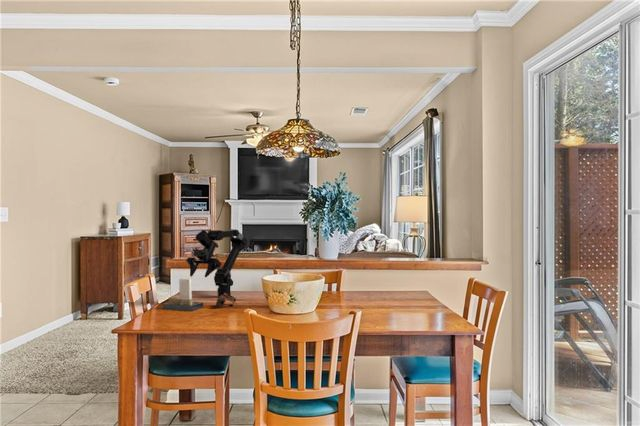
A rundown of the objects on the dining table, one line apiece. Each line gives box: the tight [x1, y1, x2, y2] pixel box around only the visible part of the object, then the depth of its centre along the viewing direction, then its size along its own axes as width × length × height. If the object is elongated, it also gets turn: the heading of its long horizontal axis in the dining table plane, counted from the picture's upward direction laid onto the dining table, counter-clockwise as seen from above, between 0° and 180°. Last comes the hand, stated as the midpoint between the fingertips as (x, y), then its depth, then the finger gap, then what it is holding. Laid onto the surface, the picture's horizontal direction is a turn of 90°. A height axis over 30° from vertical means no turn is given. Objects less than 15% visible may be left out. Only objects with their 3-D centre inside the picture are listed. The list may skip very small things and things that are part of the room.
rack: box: [162, 301, 205, 312], centre depth 230 cm, size 10×18×3 cm, turn 68°
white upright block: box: [178, 278, 193, 300], centre depth 232 cm, size 2×6×14 cm, turn 68°
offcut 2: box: [180, 298, 193, 305], centre depth 227 cm, size 2×6×5 cm, turn 68°
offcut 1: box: [168, 297, 181, 304], centre depth 229 cm, size 2×6×5 cm, turn 68°
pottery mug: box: [215, 293, 237, 309], centre depth 232 cm, size 12×10×8 cm
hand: (198, 276), depth 242 cm, fingers open, 9 cm apart
